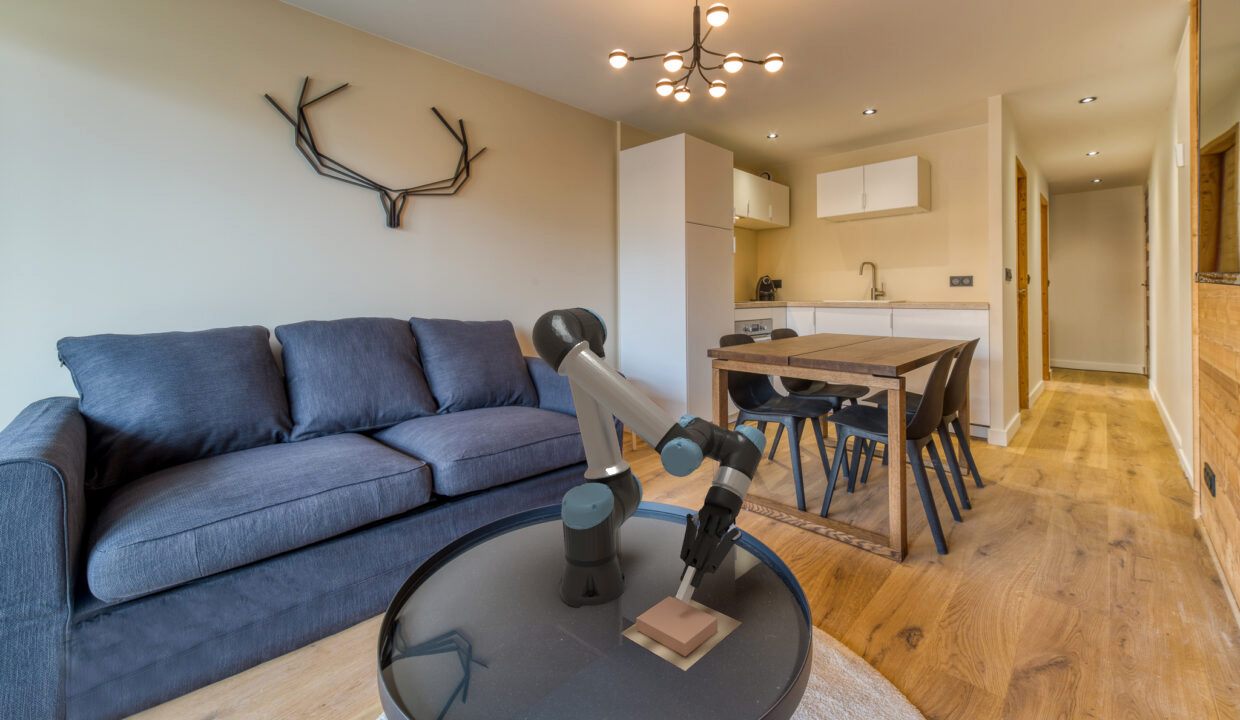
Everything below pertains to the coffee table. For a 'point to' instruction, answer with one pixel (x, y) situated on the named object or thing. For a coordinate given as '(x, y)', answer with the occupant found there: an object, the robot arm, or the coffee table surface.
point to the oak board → (684, 663)
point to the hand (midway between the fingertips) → (681, 600)
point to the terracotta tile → (677, 625)
